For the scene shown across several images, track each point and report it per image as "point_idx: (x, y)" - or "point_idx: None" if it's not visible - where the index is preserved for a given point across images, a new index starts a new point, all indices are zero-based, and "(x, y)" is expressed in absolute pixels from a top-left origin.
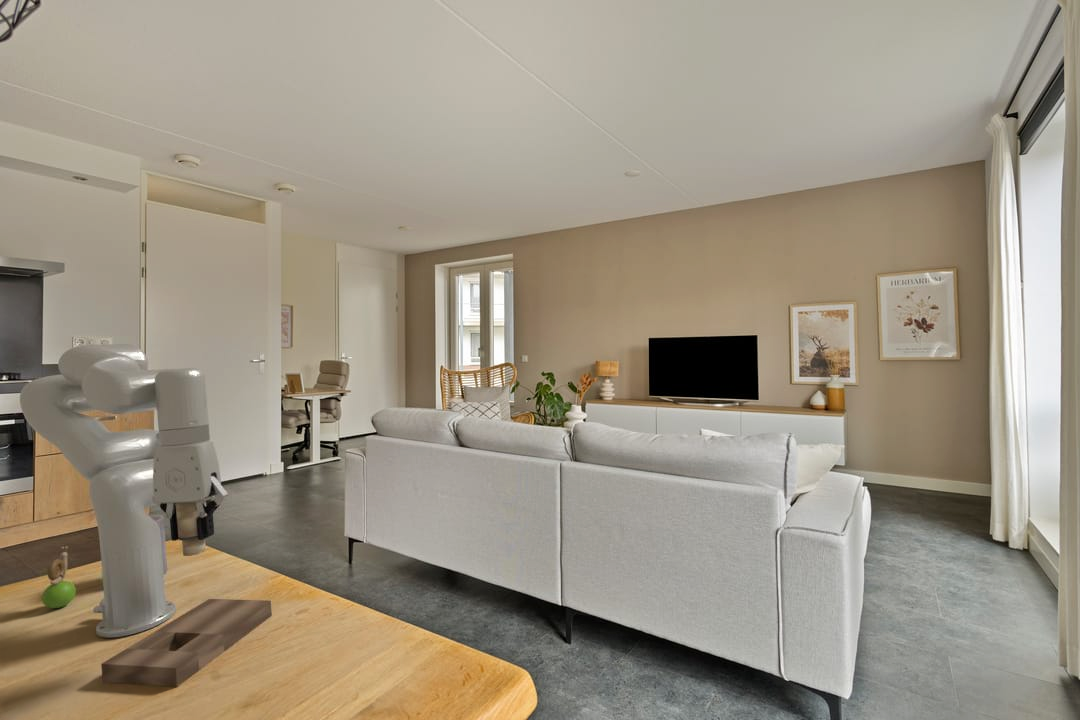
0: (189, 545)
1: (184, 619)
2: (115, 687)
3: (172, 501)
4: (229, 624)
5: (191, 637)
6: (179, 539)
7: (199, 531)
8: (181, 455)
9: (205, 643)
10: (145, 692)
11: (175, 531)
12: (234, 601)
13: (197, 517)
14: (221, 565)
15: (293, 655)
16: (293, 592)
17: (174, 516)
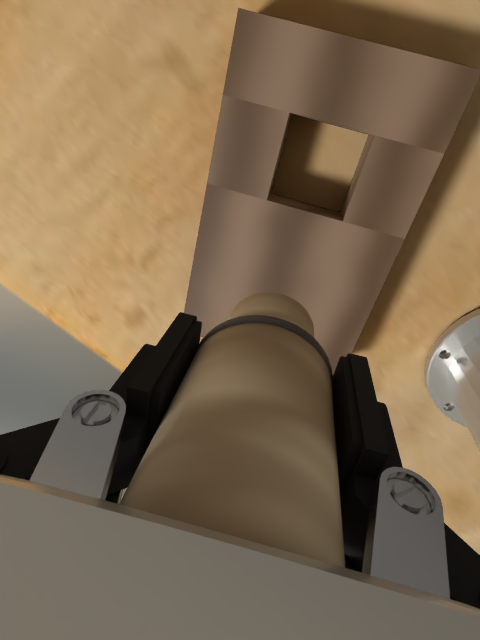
0: (259, 314)
1: (352, 287)
2: (414, 43)
3: (315, 574)
4: (218, 234)
5: (297, 206)
6: (305, 332)
7: (171, 336)
8: None
9: (228, 142)
10: (317, 5)
11: (344, 386)
12: None
13: (166, 418)
14: None
15: (52, 130)
16: None
17: (367, 485)
